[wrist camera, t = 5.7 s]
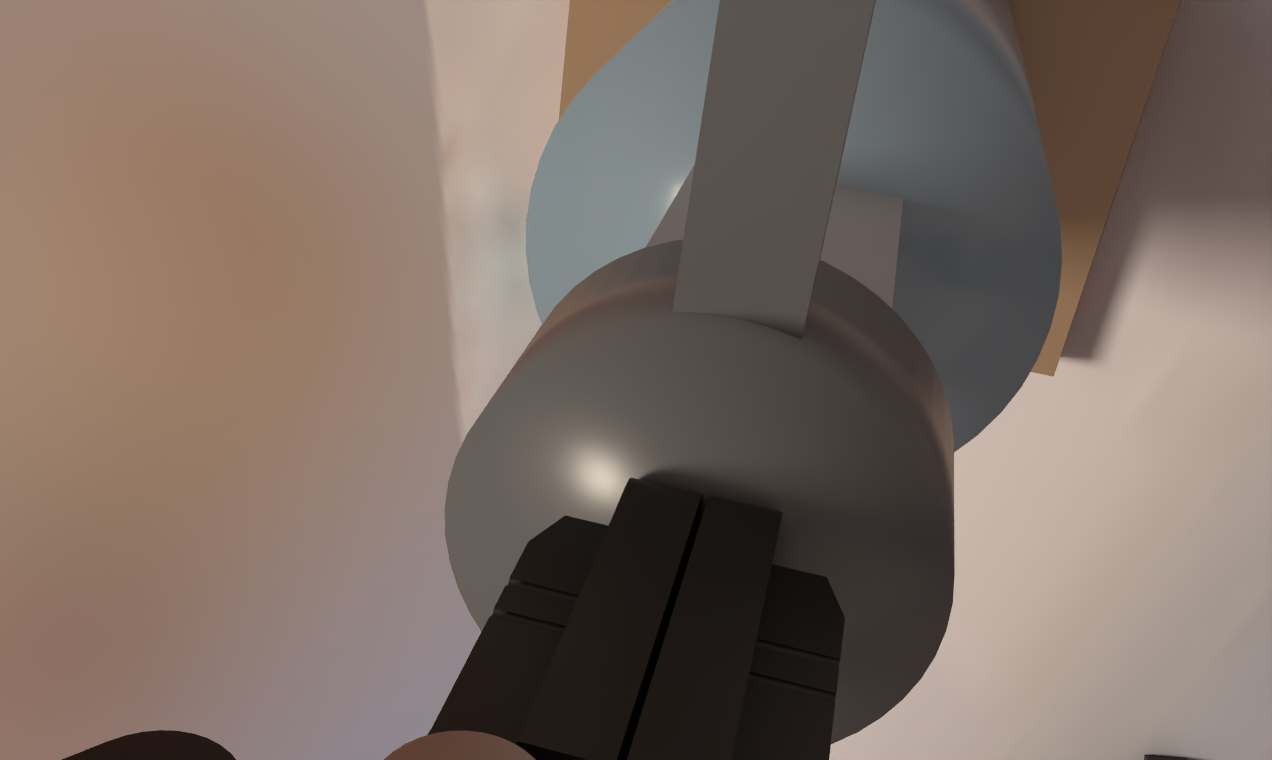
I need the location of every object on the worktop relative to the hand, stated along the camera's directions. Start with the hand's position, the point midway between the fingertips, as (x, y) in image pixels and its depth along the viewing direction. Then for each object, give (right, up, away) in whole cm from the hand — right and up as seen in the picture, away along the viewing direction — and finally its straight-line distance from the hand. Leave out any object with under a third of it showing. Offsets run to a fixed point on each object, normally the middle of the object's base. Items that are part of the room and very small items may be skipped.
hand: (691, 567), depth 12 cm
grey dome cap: (+2, +5, +6) cm, 8 cm away
